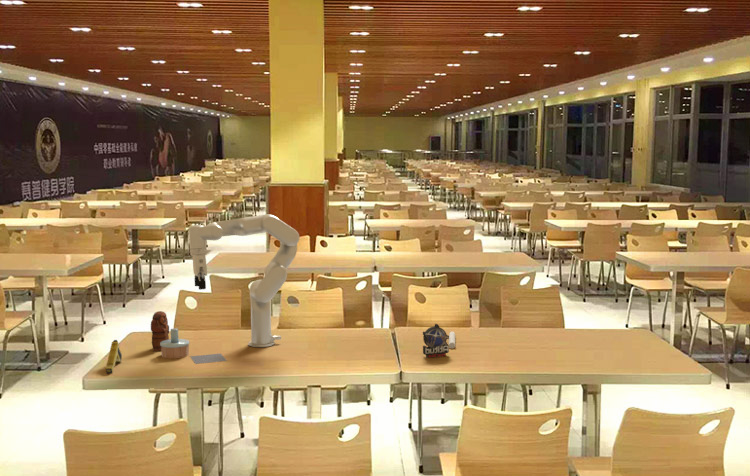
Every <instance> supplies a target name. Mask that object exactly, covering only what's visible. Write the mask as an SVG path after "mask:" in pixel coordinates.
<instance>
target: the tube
mask: <svg viewBox="0 0 750 476" xmlns="http://www.w3.org/2000/svg"><path fill="white" fill-rule="evenodd" d="M448 336H449V339H448V345H449V349H455V348H456V332H454V331H450V332H449V335H448Z"/></svg>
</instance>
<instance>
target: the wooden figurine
mask: <svg viewBox="0 0 750 476" xmlns="http://www.w3.org/2000/svg"><path fill="white" fill-rule="evenodd" d="M151 319H152V320H151V321H150V331H151V333H152V334H151V344H152V350H153V352H161V346H160V342H162V341H164V340H169V339H170V337H169V336H170V335H169V334H170V325H169V324H168V323H169V322H168V321H169V320H168V316H167V313H165V311H162V310H161V311H160V310H159V311H156V312H154V313H153V315H152V318H151Z"/></svg>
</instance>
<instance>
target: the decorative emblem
mask: <svg viewBox="0 0 750 476" xmlns="http://www.w3.org/2000/svg"><path fill="white" fill-rule="evenodd" d="M422 335H423V337H422V338H423V343H424V344H425V345H422V354H423V355H425V357H426V358H428V359H431V358H440V357H441V358H442V357H446V356H447V355H446V354H448V353H449V352H450V347H449V343H448V342H447V341H448V340H449V335H448V334H447V332H446V331H445V330H444V329H443V328H441V327H440V326H439V324H437V323H435V324H434V326H431V327H428V328H427V329H426V330H425V331H422Z"/></svg>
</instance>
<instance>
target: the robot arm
mask: <svg viewBox="0 0 750 476" xmlns="http://www.w3.org/2000/svg"><path fill="white" fill-rule="evenodd" d="M264 233H267V234H269V235H270V236H272V237H274V239H276V240H277V241H278V242H279V244H280V245H279V249H278V250H277V252H276V253H275V255H274V257H273V258H272V259H271V260H270V261H269V263H268V264H267V265H266V266H265V268H264V276H263V278H262V279H257V280H254V281H253V282H252V283H251V284H250V286H249V301H250V326H251V327H250V330H251V331H250V333H251V334H250V335H251V336H250V337H251V338H250V339H251V340H250V341H248V343H247V344H248V346H250V347H252V348H268V347H271V346H272V347H273V346H274V345H275V341H276V340H277V341H279V340H282V336H281V335H277V334H276V335H275V334H274V335H273V334H272V317H271V316H272V310H271V306H272V305H271V300H272V299H273V298H274V297H275V296H276V295H277V293H278V291H280V290H281V288H282V286H284V284H285V282H286V280H287V278H288V271H287V270H288V268H289V267H290V266H291V264H292V262H293V261H294V259H295V258H296V255H297V251H298V243H299V242H300V233H299V232H298V231H297V230H296V229H295V228H293V227H291V226H290V225H289V224H287V223H286V222H284V221H283V220H281V219H280V218H278V217H277V216H275V215H273V214H269V213H266V214H260V215H253V216H248V217H242V218H241V217H239V218H234V219H227V220H221V221H220V220H219V221H214V222H209V223H208V224H206V225H202V224H194V225H193V224H192V225H191V226H189V228H188V234H189V237H188V238H189V252H190V256H192V268H193V269H192V270H193V274H194V286H195V287H198V290H206V288H207V285H206V276H208V270H207V269H208V267H207V259H206V255H207V254H208V253H207V252H208V251H207V241H219V240H220V239H222V237H227V236H240V237H245V236H252V235H257V234H264Z"/></svg>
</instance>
